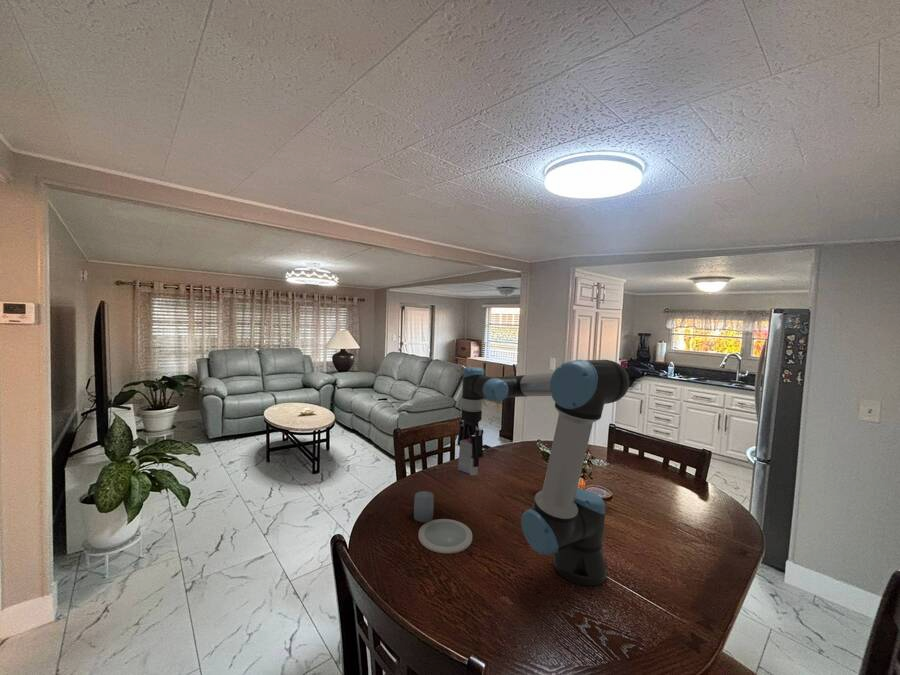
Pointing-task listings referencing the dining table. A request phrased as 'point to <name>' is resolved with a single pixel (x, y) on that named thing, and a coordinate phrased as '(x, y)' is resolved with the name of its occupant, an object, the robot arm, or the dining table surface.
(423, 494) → the cylinder block
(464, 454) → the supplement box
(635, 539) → the dining table surface
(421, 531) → the dish
